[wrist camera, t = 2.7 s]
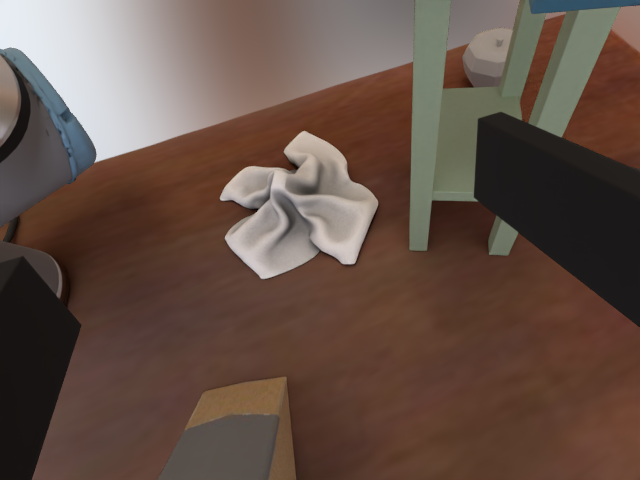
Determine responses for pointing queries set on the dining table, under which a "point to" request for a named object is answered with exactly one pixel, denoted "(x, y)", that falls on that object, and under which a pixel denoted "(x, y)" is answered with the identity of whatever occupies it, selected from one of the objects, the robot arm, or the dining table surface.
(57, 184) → the robot arm
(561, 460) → the dining table surface
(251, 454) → the sandwich container
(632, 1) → the lid
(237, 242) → the cloth
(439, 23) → the stand
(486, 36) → the apple
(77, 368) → the dining table surface
